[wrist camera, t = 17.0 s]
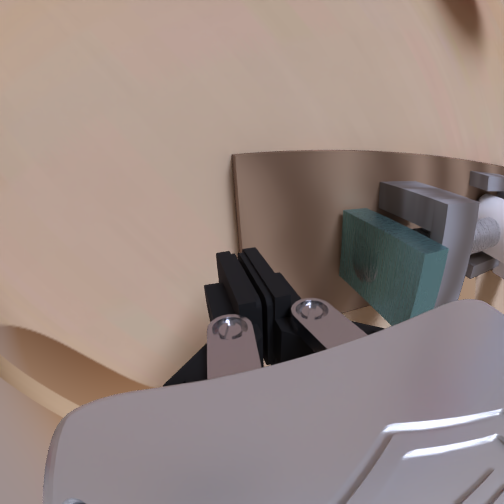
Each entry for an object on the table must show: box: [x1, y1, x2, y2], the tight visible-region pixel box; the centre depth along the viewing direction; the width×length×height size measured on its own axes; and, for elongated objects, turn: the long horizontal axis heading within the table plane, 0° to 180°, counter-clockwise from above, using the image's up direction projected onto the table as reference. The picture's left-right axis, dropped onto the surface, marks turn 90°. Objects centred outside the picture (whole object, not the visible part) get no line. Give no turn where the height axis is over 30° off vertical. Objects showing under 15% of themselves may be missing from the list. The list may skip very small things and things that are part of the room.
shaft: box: [339, 208, 501, 326], centre depth 17 cm, size 17×5×8 cm, turn 94°
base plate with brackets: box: [232, 150, 504, 313], centre depth 19 cm, size 35×13×8 cm, turn 94°
